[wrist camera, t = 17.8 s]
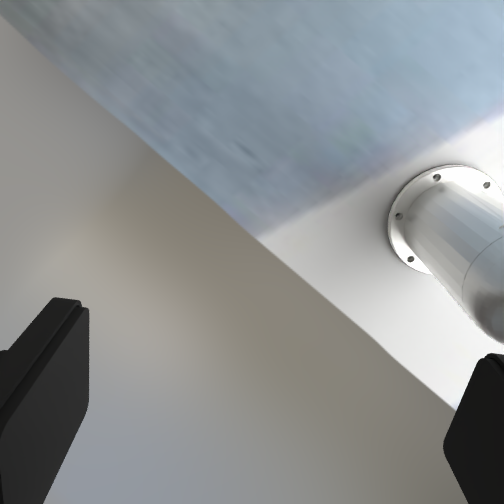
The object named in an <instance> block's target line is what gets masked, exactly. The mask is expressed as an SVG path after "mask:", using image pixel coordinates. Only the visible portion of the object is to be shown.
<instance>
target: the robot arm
mask: <svg viewBox="0 0 504 504" xmlns="http://www.w3.org/2000/svg"><path fill="white" fill-rule="evenodd" d="M435 174H436V176H435V177H434V178H433V176H434V175H435ZM484 182H485V184H484V185H483V183H484ZM397 213H399V214H398V215H397V216H395V215H396V214H397ZM388 236H389V240H390V243H391V246H392V247H393V249H394V251H395V253H396V254H397V255H398V256H399V258H400V259H401V260H402V261H403V262H404V263H405V264H406V265H408V266H409V267H411V268H413V269H415V270H417V271H420V272H423V273H428V274H432V275H433V276H434V277H435V278H436V279H437V281H438V282H439V283H440V284H441V285H442V286H443V288H444V289H445V290H446V291H447V292H448V293H449V294H450V296H451V297H452V298H453V299H454V300H455V301H456V303H457V304H458V305H459V306H460V307H461V308H462V310H463V311H464V312H465V313H466V314H467V315H468V317H469V318H470V319H471V320H472V321H473V322H474V323H475V324H476V326H477V327H478V328H479V329H480V330H481V331H482V332H484V333H485V334H486V335H487V336H488V337H490V338H492V339H493V340H495V341H496V342H498V343H501V344H503V345H504V197H503V195H502V192H501V190H500V188H499V187H498V185H497V184H496V183H495V181H494V180H493V179H491V178H490V177H489V176H488V175H487V174H485V173H483V172H481V171H479V170H477V169H474V168H472V167H469V166H463V165H445V166H440V167H436V168H433V169H431V170H428V171H426V172H424V173H422V174H420V175H419V176H417V177H416V178H414V179H413V180H412V181H411V182H409V183H408V184H407V185H406V186H405V187H404V188H403V190H402V191H401V192H400V193H399V195H398V196H397V198H396V200H395V201H394V203H393V205H392V208H391V211H390V214H389V218H388ZM409 256H410V257H409ZM408 257H409V258H408ZM88 402H89V309H88V308H84V307H82V305H81V302H80V301H79V300H72V299H65V298H56V297H55V298H52V299H51V300H50V302H49V303H48V304H47V305H46V306H45V307H44V309H43V310H42V311H41V312H40V313H39V315H38V316H37V317H36V318H35V319H34V320H33V321H32V323H31V324H30V325H29V326H28V327H27V328H26V330H25V331H24V332H23V333H22V334H21V336H20V337H19V338H18V339H17V340H16V341H15V343H14V344H13V345H12V346H11V347H10V348H9V350H2V351H0V504H43V503H44V500H45V498H46V496H47V494H48V492H49V490H50V488H51V486H52V484H53V482H54V479H55V477H56V475H57V473H58V471H59V469H60V467H61V465H62V463H63V461H64V459H65V456H66V454H67V452H68V450H69V448H70V446H71V444H72V442H73V440H74V438H75V435H76V433H77V431H78V429H79V427H80V425H81V423H82V421H83V419H84V416H85V414H86V411H87V408H88ZM443 449H444V454H445V457H446V459H447V461H448V463H449V464H450V467H451V469H452V471H453V473H454V475H455V477H456V479H457V481H458V483H459V485H460V487H461V489H462V491H463V493H464V495H465V497H466V500H467V502H468V504H504V355H502V354H494V353H490V354H487V355H486V356H485V358H481V359H480V360H479V361H478V362H477V364H476V367H475V369H474V371H473V374H472V376H471V378H470V381H469V383H468V385H467V388H466V390H465V392H464V395H463V397H462V399H461V402H460V404H459V406H458V409H457V411H456V413H455V416H454V418H453V420H452V423H451V425H450V427H449V430H448V432H447V434H446V437H445V439H444V444H443Z"/></svg>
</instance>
